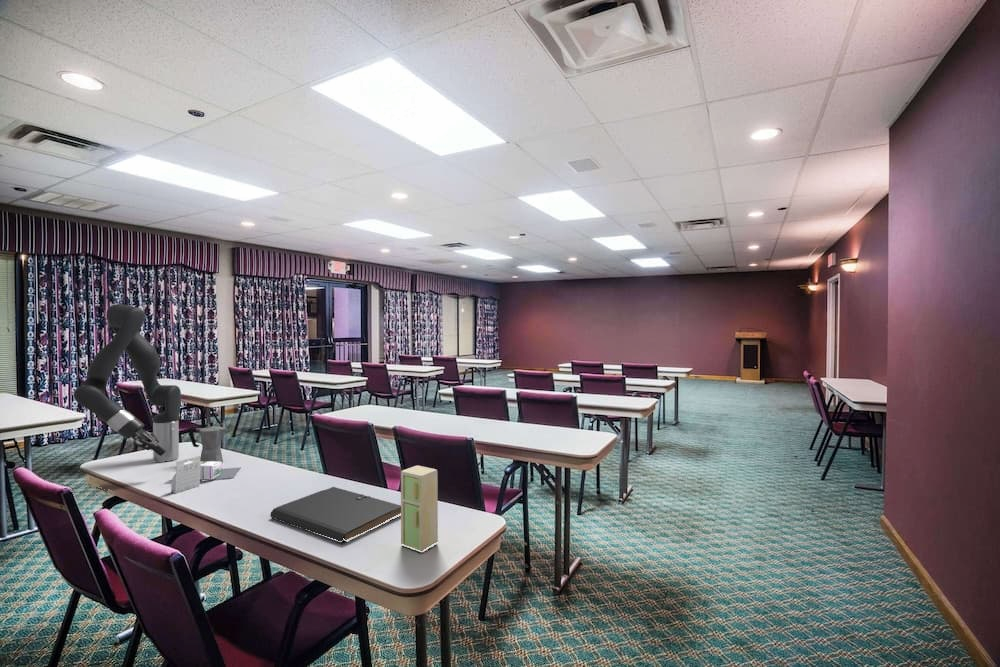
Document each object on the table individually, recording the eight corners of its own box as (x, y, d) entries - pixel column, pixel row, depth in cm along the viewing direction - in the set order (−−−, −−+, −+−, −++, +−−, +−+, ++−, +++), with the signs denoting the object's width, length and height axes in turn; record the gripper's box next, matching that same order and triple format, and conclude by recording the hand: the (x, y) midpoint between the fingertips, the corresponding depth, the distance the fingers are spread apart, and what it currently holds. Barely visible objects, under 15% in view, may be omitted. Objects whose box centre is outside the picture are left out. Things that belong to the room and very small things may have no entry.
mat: (179, 482, 177) (179, 481, 177) (191, 472, 190) (191, 471, 190) (233, 478, 183) (233, 477, 183) (240, 468, 196) (240, 467, 196)
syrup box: (175, 479, 179) (212, 480, 179) (175, 464, 179) (212, 465, 179) (185, 474, 185) (221, 475, 185) (185, 460, 185) (221, 461, 185)
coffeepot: (231, 459, 209) (231, 419, 209) (224, 465, 200) (224, 423, 200) (193, 461, 205) (193, 420, 205) (183, 467, 196) (184, 425, 196)
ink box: (170, 493, 166) (170, 461, 166) (195, 484, 175) (195, 454, 175) (175, 494, 165) (175, 462, 165) (200, 485, 174) (200, 455, 174)
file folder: (403, 504, 149) (342, 533, 128) (403, 517, 149) (342, 548, 128) (333, 485, 166) (270, 508, 145) (333, 496, 166) (270, 521, 145)
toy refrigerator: (398, 547, 127) (398, 471, 127) (416, 537, 133) (417, 464, 133) (419, 555, 123) (420, 476, 122) (437, 545, 129) (438, 469, 128)
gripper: (126, 420, 171) (165, 450, 176) (141, 413, 184) (177, 442, 188) (109, 435, 170) (149, 465, 174) (124, 428, 182) (161, 456, 186)
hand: (163, 453), depth 181 cm, fingers closed
